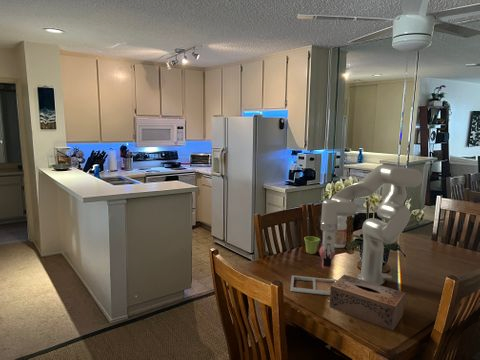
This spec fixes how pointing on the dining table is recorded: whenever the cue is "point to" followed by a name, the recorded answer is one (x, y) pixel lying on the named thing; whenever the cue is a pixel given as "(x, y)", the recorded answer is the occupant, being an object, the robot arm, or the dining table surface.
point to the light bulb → (324, 256)
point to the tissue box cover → (367, 301)
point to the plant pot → (311, 244)
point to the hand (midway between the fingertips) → (326, 262)
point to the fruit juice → (341, 232)
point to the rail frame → (319, 285)
